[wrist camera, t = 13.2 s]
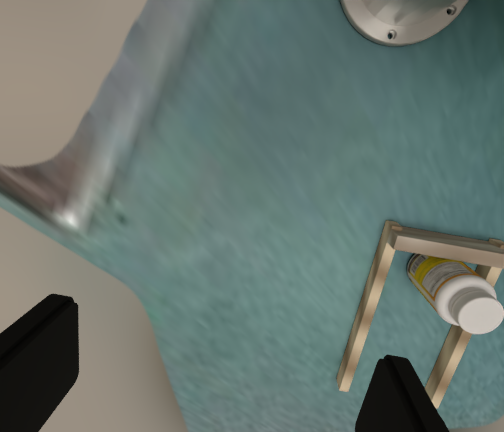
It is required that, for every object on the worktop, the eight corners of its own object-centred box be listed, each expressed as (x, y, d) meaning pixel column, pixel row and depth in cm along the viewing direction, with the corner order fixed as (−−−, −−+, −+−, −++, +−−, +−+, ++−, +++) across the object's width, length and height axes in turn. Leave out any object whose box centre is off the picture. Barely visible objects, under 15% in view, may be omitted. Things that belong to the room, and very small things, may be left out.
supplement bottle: (452, 283, 39) (512, 339, 29) (406, 288, 39) (449, 345, 30) (453, 241, 37) (516, 286, 27) (404, 248, 38) (449, 294, 28)
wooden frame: (386, 220, 37) (398, 232, 33) (499, 240, 37) (525, 254, 33) (336, 378, 44) (342, 403, 41) (430, 395, 44) (445, 422, 40)
